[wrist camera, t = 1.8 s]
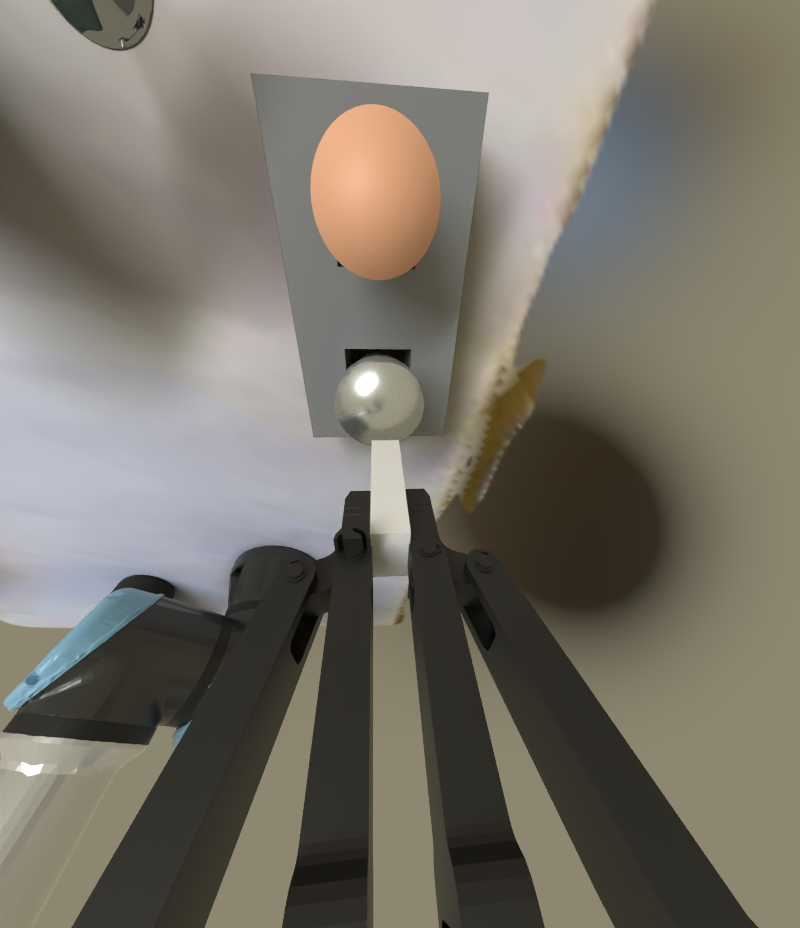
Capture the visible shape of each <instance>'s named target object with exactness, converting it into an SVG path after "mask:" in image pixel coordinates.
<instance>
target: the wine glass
mask: <svg viewBox="0 0 800 928" xmlns="http://www.w3.org/2000/svg"><path fill="white" fill-rule="evenodd" d="M49 1H50V2H51V3H52V5H53V6H54V7H55V9H56V10H57V11H58V12H59V13H60V14H61V15H62V16H63V17H64V18H65V20H66V21H67V22H68V23H70V24H71V25H72V26H73V27H74V28H75V29H76V30H77V31H78V32H80V33H81V34H83V35H84V36H85V37H87V38H88V39H90V40H91V41H93V42H95V43H97V44H99V45H101V46H104V47H107V48H111V49H126V48H130V47H133V46H134V45H135V44H137V43H138V42H140V40H141V39H142V38H143V36H144V35H145V34H146V31H147V29H148V27H149V24H150V20H151V15H152V7H153V0H49Z"/></svg>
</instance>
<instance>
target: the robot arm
mask: <svg viewBox="0 0 800 928" xmlns="http://www.w3.org/2000/svg"><path fill="white" fill-rule="evenodd" d="M334 545H335V551H334V552H333V553H332V554H330V555H329V556H327V557H325V558H322V559H319V560H316V561H314V560H313V559H312V558H311V557H310V556H308V555H306V554H305V553H303V552H300V551H298V550H295V549H291V548H287V547H281V546H264V547H258V548H254V549H251V550H248V551H246V552H244V553H243V554H242V555H240V556H239V557H238V558H237V560H236V562H235V564H234V566H233V568H232V571H231V574H230V581H229V597H228V608H227V611H226V614H225V616H223V615H221V614H217V613H214V612H211V611H208V610H204V609H201V608H198V607H195V606H192V605H189V604H186V603H183V602H179V601H176V600H173V599H170V598H167V597H164V595H163V594H153V593H149V592H146V591H142V590H138V589H134V588H123V589H119V590H116V591H114V592H112V593H111V594H109V595H108V596H106V597H105V598H104V599H103V600H102V601H101V602H100V603H99V604H98V605H97V606H96V607H95V608H94V609H93V610H92V611H91V612H90V613H89V614H88V615H87V616H86V617H85V618H84V619H83V620H82V621H81V622H80V623H79V624H78V625H77V626H76V627H75V628H74V629H73V630H72V631H71V632H70V633H69V634H68V635H67V636H66V637H65V638H64V639H63V640H62V641H61V642H60V643H59V644H58V645H57V646H56V647H55V648H54V649H53V650H52V651H51V652H50V653H49V654H48V655H47V656H46V657H45V658H44V659H43V660H42V661H41V663H40V664H39V665H38V666H37V667H36V668H35V669H34V670H33V671H32V672H31V673H30V674H29V675H28V676H27V677H26V678H25V679H24V680H23V681H22V682H21V683H20V684H19V685H18V686H17V687H16V688H15V689H14V690H13V691H12V692H11V693H10V694H9V696H8V697H7V698H6V699H5V701H4V706H5V707H7V708H8V710H9V711H15V710H16V709H19V710H18V712H17V714H16V715H15V716H14V718H13V719H12V720H11V721H10V723H9V724H8V725H7V726H6V728H5V729H4V730H3V731H2V732H1V734H0V753H1V762H0V928H33V926H34V925H35V923H36V921H37V919H38V917H39V915H40V913H41V911H42V910H43V908H44V906H45V904H46V902H47V900H48V898H49V897H50V895H51V892H52V891H53V889H54V887H55V885H56V884H57V881H58V880H59V877H60V876H61V874H62V872H63V870H64V869H65V867H66V865H67V863H68V861H69V859H70V857H71V855H72V853H73V852H74V850H75V848H76V846H77V844H78V842H79V840H80V839H81V837H82V835H83V833H84V831H85V829H86V828H87V826H88V824H89V822H90V820H91V818H92V816H93V814H94V813H95V811H96V809H97V807H98V805H99V803H100V801H101V799H102V798H103V796H104V794H105V792H106V790H107V788H108V786H109V785H110V783H111V781H112V779H113V777H114V775H115V773H116V772H117V771H118V770H119V769H120V768H121V767H122V766H123V765H125V764H126V763H127V762H129V761H130V760H132V759H133V758H134V757H136V756H137V755H139V754H140V753H141V752H143V751H144V750H145V749H146V748H147V746H148V744H149V742H150V740H151V738H152V736H153V735H154V733H155V731H156V729H157V727H158V726H169V727H175V728H176V729H177V730H176V731H175V732H174V734H173V743H172V745H173V747H174V748H175V750H174V752H173V753H172V755H171V757H170V759H169V760H168V762H167V764H166V766H165V767H164V769H163V771H162V773H161V774H160V776H159V778H158V779H157V781H156V783H155V785H154V786H153V788H152V790H151V792H150V793H149V795H148V796H147V798H146V800H145V802H144V804H143V805H142V807H141V809H140V810H139V812H138V814H137V815H136V817H135V819H134V821H133V822H132V824H131V826H130V828H129V829H128V831H127V833H126V835H125V836H124V838H123V840H122V841H121V843H120V845H119V847H118V848H117V850H116V852H115V853H114V855H113V857H112V859H111V860H110V862H109V864H108V866H107V867H106V869H105V871H104V872H103V874H102V876H101V878H100V879H99V881H98V883H97V885H96V886H95V888H94V890H93V892H92V893H91V895H90V897H89V898H88V900H87V902H86V904H85V905H84V907H83V909H82V911H81V912H80V914H79V916H78V917H77V919H76V921H75V923H74V925H73V926H72V928H204V927H205V924H206V922H207V919H208V917H209V913H210V911H211V908H212V906H213V903H214V901H215V898H216V896H217V893H218V890H219V888H220V885H221V882H222V880H223V877H224V875H225V872H226V869H227V867H228V864H229V861H230V859H231V856H232V853H233V851H234V848H235V846H236V843H237V840H238V838H239V835H240V832H241V830H242V827H243V825H244V822H245V819H246V817H247V814H248V811H249V809H250V806H251V804H252V801H253V798H254V796H255V793H256V790H257V788H258V785H259V783H260V780H261V777H262V775H263V772H264V769H265V766H266V764H267V762H268V759H269V756H270V754H271V751H272V748H273V746H274V743H275V740H276V738H277V735H278V732H279V730H280V727H281V725H282V722H283V719H284V717H285V714H286V711H287V709H288V706H289V704H290V701H291V698H292V696H293V693H294V691H295V687H296V685H297V683H298V680H299V677H300V675H301V672H302V669H303V667H304V664H305V662H306V659H307V656H308V654H309V651H310V648H311V646H312V643H313V641H314V638H315V635H316V633H317V630H318V627H319V625H320V622H321V620H322V617H323V614H324V613H326V612H329V613H328V621H327V629H326V637H325V644H324V652H323V660H322V668H321V676H320V684H319V691H318V700H317V707H316V715H315V724H314V732H313V739H312V747H311V754H310V762H309V770H308V778H307V786H306V794H305V802H304V810H303V817H302V826H301V833H300V841H299V848H298V856H297V860H296V865H295V869H294V873H293V876H292V880H291V884H290V887H289V892H288V897H287V902H286V906H285V913H284V919H283V926H282V928H373V577H385V576H405V575H408V577H409V587H408V598H409V600H410V610H411V620H412V631H413V641H414V651H415V660H416V671H417V680H418V681H417V682H418V691H419V702H420V711H421V722H422V732H423V743H424V753H425V762H426V773H427V783H428V793H429V803H430V814H431V823H432V834H433V846H434V875H435V888H436V899H437V909H438V919H439V928H545V927H544V923H543V919H542V915H541V911H540V907H539V903H538V899H537V896H536V892H535V889H534V885H533V881H532V878H531V874H530V872H529V869H528V866H527V863H526V860H525V858H524V856H523V854H522V852H521V850H520V848H519V846H518V843H517V841H516V839H515V836H514V833H513V830H512V827H511V823H510V819H509V815H508V812H507V807H506V803H505V798H504V794H503V790H502V786H501V781H500V777H499V773H498V769H497V765H496V760H495V756H494V752H493V748H492V743H491V739H490V735H489V731H488V727H487V722H486V718H485V714H484V710H483V706H482V701H481V698H480V693H479V689H478V685H477V681H476V676H475V672H474V668H473V664H472V659H471V655H470V651H469V647H468V643H467V639H466V634H465V630H464V626H463V621H462V617H461V613H462V615H463V617H464V620H465V622H466V624H467V626H468V628H469V630H470V632H471V634H472V636H473V638H474V640H475V642H476V644H477V646H478V648H479V650H480V652H481V655H482V657H483V659H484V661H485V663H486V665H487V667H488V669H489V671H490V673H491V675H492V677H493V679H494V681H495V684H496V686H497V688H498V690H499V692H500V694H501V696H502V698H503V700H504V702H505V704H506V706H507V708H508V710H509V712H510V714H511V717H512V719H513V721H514V723H515V725H516V727H517V729H518V731H519V733H520V735H521V737H522V739H523V741H524V743H525V745H526V747H527V750H528V752H529V754H530V756H531V758H532V760H533V762H534V764H535V766H536V768H537V770H538V772H539V774H540V776H541V778H542V781H543V782H544V785H545V787H546V789H547V791H548V793H549V795H550V797H551V799H552V801H553V803H554V805H555V807H556V809H557V811H558V813H559V816H560V818H561V820H562V822H563V824H564V826H565V828H566V830H567V832H568V834H569V836H570V838H571V840H572V842H573V845H574V847H575V849H576V851H577V853H578V855H579V857H580V859H581V861H582V863H583V865H584V867H585V869H586V871H587V873H588V875H589V878H590V880H591V882H592V883H593V886H594V888H595V890H596V892H597V894H598V896H599V898H600V900H601V901H602V904H603V905H604V907H605V909H606V911H607V913H608V915H609V917H610V919H611V921H612V923H613V925H614V927H615V928H758V927H757V926H756V925H755V924H754V922H753V921H752V920H751V919H750V918H749V917H748V916H747V914H746V913H745V912H744V910H743V909H742V907H741V906H740V904H739V903H738V901H737V900H736V899H735V897H734V896H733V895H732V893H731V891H730V890H729V889H728V887H727V886H726V884H725V883H724V881H723V880H722V878H721V877H720V876H719V874H718V873H717V871H716V870H715V868H714V867H713V865H712V864H711V863H710V861H709V860H708V858H707V857H706V855H705V854H704V853H703V851H702V850H701V848H700V847H699V845H698V844H697V842H696V841H695V840H694V838H693V837H692V835H691V834H690V832H689V831H688V830H687V828H686V827H685V825H684V824H683V822H682V821H681V820H680V818H679V817H678V815H677V814H676V812H675V811H674V809H673V808H672V806H671V805H670V804H669V802H668V801H667V800H666V798H665V796H664V795H663V794H662V792H661V791H660V789H659V788H658V786H657V785H656V783H655V782H654V781H653V779H652V778H651V776H650V775H649V773H648V772H647V771H646V769H645V768H644V766H643V765H642V763H641V762H640V760H639V759H638V758H637V756H636V755H635V753H634V752H633V750H632V749H631V748H630V746H629V745H628V743H627V742H626V740H625V739H624V737H623V736H622V735H621V733H620V732H619V730H618V729H617V727H616V726H615V724H614V723H613V722H612V720H611V719H610V717H609V716H608V714H607V713H606V712H605V710H604V709H603V707H602V706H601V704H600V703H599V702H598V700H597V699H596V697H595V696H594V694H593V693H592V692H591V690H590V689H589V687H588V686H587V684H586V683H585V681H584V680H583V678H582V677H581V676H580V674H579V673H578V671H577V670H576V668H575V667H574V666H573V664H572V663H571V661H570V660H569V658H568V657H567V656H566V654H565V653H564V651H563V650H562V648H561V647H560V645H559V644H558V642H557V641H556V640H555V638H554V637H553V635H552V634H551V632H550V631H549V630H548V628H547V627H546V625H545V624H544V622H543V621H542V619H541V618H540V617H539V615H538V614H537V612H536V611H535V609H534V608H533V607H532V605H531V604H530V602H529V601H528V600H527V598H526V597H525V595H524V594H523V592H522V591H521V589H520V588H519V587H518V585H517V584H516V582H515V581H514V579H513V578H512V576H511V575H510V573H509V572H508V571H507V569H506V568H505V566H504V565H503V563H502V562H501V560H500V559H499V558H498V557H497V556H496V555H495V554H494V553H492V552H490V551H489V550H485V549H475V550H472V551H470V552H469V554H464V553H460V552H456V551H453V550H451V549H449V548H447V547H446V546H445V545H444V544H443V543H442V542H441V540H440V538H439V535H438V531H437V526H436V522H435V517H434V513H433V509H432V506H431V500H430V496H429V495H428V493H427V492H426V491H425V490H424V489H405V484H404V476H403V469H402V461H401V453H400V446H399V440H372V447H371V491H350V493H349V494H348V496H347V497H346V499H345V505H344V514H343V522H342V529H340V530H339V531H338V532H337V533H336V535H335V537H334ZM460 611H461V613H460Z"/></svg>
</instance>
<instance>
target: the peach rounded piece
mask: <svg viewBox="0 0 800 928" xmlns="http://www.w3.org/2000/svg"><path fill="white" fill-rule="evenodd" d="M310 191H311V203H312V209H313V214H314V218H315V222H316V225H317V227H318V230H319V233H320V235H321V237H322V239H323V241H324V243H325V244H326V246H327V248H328V249H329V251H330V252H331V253H332V255H333V256H334V257H335V259H336V260H337V261H338V262H339V263H340V264H341V265H343V266H344V267H345V268H346V269H348V270H349V271H351V272H352V273H354V274H356V275H358V276H360V277H363V278H366V279H370V280H388V279H393V278H395V277H398V276H400V275H402V274H404V273H406V272H407V271H409V270H410V269H411V268H413V267H414V266H415V265H416V264H417V263H418V262H419V261H420V259H421V258H422V257H423V255H424V254H425V253H426V251H427V249H428V248H429V246H430V244H431V241H432V239H433V237H434V234H435V231H436V228H437V224H438V220H439V213H440V202H441V192H440V181H439V175H438V170H437V166H436V163H435V160H434V157H433V154H432V152H431V149H430V147H429V145H428V143H427V142H426V140H425V138H424V137H423V135H422V134H421V132H420V131H419V129H418V128H417V127H416V126H415V125H414V124H413V123H412V122H411V121H410V120H409V119H408V118H407V117H405V116H404V115H403V114H401V113H400V112H398V111H396V110H395V109H392V108H389V107H387V106H383V105H377V104H365V105H361V106H357V107H354V108H352V109H350V110H348V111H346V112H345V113H343V114H342V115H340V116H339V117H338V118H337V119H336V120H335V121H334V122H333V123H332V124H331V125H330V126H329V128H328V129H327V131H326V132H325V133H324V135H323V137H322V139H321V141H320V143H319V145H318V148H317V151H316V153H315V157H314V161H313V165H312V172H311V185H310Z"/></svg>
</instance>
